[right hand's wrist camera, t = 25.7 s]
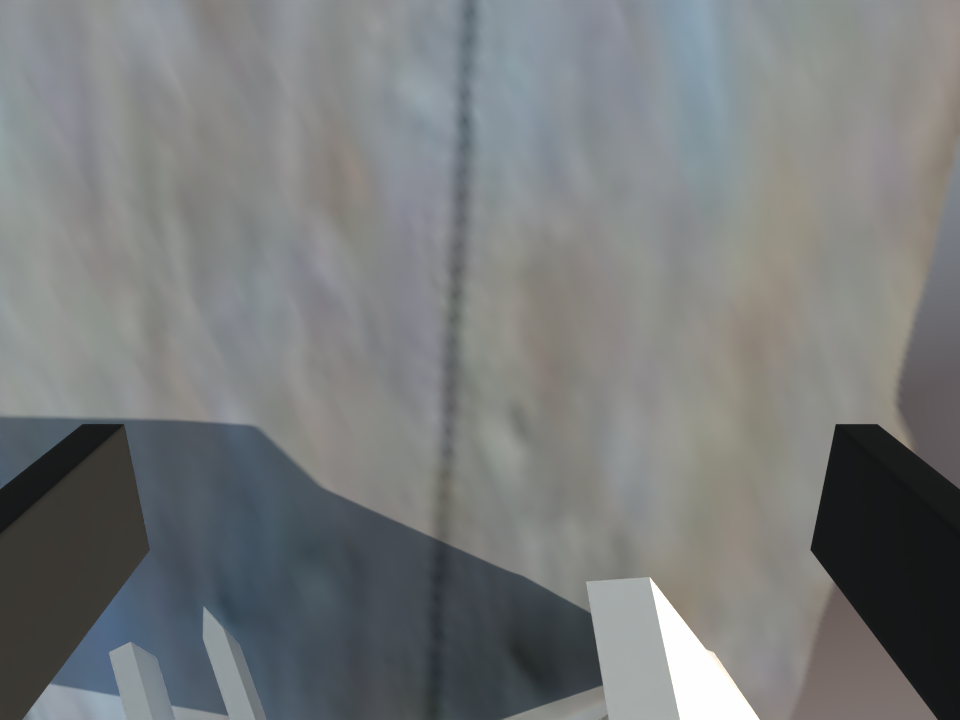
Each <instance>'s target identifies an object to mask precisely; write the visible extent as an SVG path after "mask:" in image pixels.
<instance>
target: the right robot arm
mask: <svg viewBox="0 0 960 720" xmlns="http://www.w3.org/2000/svg"><path fill="white" fill-rule="evenodd" d="M148 551H149V545H148V540H147V535H146V530H145V525H144V520H143V515H142V510H141V505H140V500H139V495H138V490H137V485H136V481H135V476H134V471H133V466H132V461H131V456H130V451H129V446H128V441H127V436H126V431H125V426H124V424H82V425H81V426H80V427H78V428H77V429H76V430H75V431H73V432H72V433H71V434H70V435H68V436H67V437H66V438H65V439H63V440H62V441H61V442H60V443H58V444H57V445H56V446H55V447H53V448H52V449H51V450H49V451H48V452H47V453H46V454H44V455H43V456H42V457H41V458H39V459H38V460H37V461H36V462H34V463H33V464H32V465H31V466H29V467H28V468H27V469H25V470H24V471H23V472H22V473H20V474H19V475H18V476H17V477H15V478H14V479H13V480H12V481H10V482H9V483H8V484H7V485H5V486H4V487H3V488H1V489H0V720H22V719H23V718H24V716H25V715H26V714H27V712H28V711H29V710H30V708H31V707H32V706H33V705H34V703H35V702H36V701H37V699H38V698H39V697H40V695H41V694H42V693H43V691H44V690H45V689H46V687H47V686H48V685H49V683H50V682H51V681H52V679H53V678H54V677H55V675H56V674H57V673H58V671H59V670H60V669H61V667H62V666H63V665H64V663H65V662H66V661H67V659H68V658H69V657H70V655H71V654H72V653H73V651H74V650H75V649H76V647H77V646H78V645H79V643H80V642H81V641H82V639H83V638H84V637H85V635H86V634H87V633H88V631H89V630H90V629H91V627H92V626H93V625H94V623H95V622H96V621H97V619H98V618H99V617H100V615H101V614H102V613H103V611H104V610H105V609H106V607H107V606H108V605H109V603H110V602H111V601H112V599H113V598H114V597H115V595H116V594H117V593H118V591H119V590H120V589H121V587H122V586H123V585H124V583H125V582H126V581H127V579H128V578H129V577H130V575H131V574H132V573H133V571H134V570H135V569H136V567H137V566H138V565H139V563H140V562H141V561H142V559H143V558H144V557H145V555H146V554H147V553H148ZM811 551H812V553H813V554H814V555H815V557H816V558H817V559H818V561H819V562H820V563H821V565H822V566H823V567H824V569H825V570H826V571H827V573H828V574H829V575H830V577H831V578H832V579H833V581H834V582H835V583H836V585H837V586H838V587H839V589H840V590H841V591H842V593H843V594H844V595H845V597H846V598H847V599H848V601H849V602H850V603H851V605H852V606H853V607H854V609H855V610H856V611H857V613H858V614H859V615H860V617H861V618H862V619H863V621H864V622H865V623H866V625H867V626H868V627H869V628H870V630H871V631H872V633H873V634H874V635H875V637H876V638H877V639H878V641H879V642H880V643H881V645H882V646H883V647H884V649H885V650H886V651H887V653H888V654H889V655H890V656H891V658H892V659H893V660H894V662H895V663H896V664H897V666H898V667H899V669H900V670H901V671H902V673H903V674H904V675H905V677H906V678H907V679H908V680H909V682H910V683H911V684H912V686H913V687H914V688H915V690H916V691H917V692H918V694H919V695H920V697H921V698H922V699H923V700H924V702H925V703H926V704H927V706H928V707H929V709H930V710H931V711H932V712H933V714H934V715H935V716H936V718H937V719H938V720H960V489H958V488H957V487H956V486H955V485H953V484H952V483H951V482H950V481H948V480H947V479H946V478H945V477H943V476H942V475H941V474H940V473H938V472H937V471H936V470H935V469H933V468H932V467H931V466H929V465H928V464H927V463H926V462H924V461H923V460H922V459H921V458H919V457H918V456H917V455H916V454H914V453H913V452H912V451H911V450H909V449H908V448H907V447H905V446H904V445H903V444H902V443H900V442H899V441H898V440H897V439H895V438H894V437H893V436H892V435H890V434H889V433H888V432H887V431H885V430H884V429H883V428H882V427H880V426H879V425H878V424H836V426H835V431H834V436H833V441H832V446H831V451H830V456H829V461H828V466H827V471H826V476H825V481H824V485H823V490H822V495H821V500H820V505H819V510H818V515H817V520H816V525H815V530H814V535H813V540H812V545H811Z"/></svg>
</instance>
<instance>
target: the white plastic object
mask: <svg viewBox="0 0 960 720" xmlns="http://www.w3.org/2000/svg"><path fill="white" fill-rule="evenodd" d="M586 584H587V590H588V596H589V602H590V608H591V614H592V620H593V627H594V633H595V639H596V645H597V651H598V657H599V663H600V669H601V675H602V681H603V687H604V693H605V699H606V705H607V711H608V714H607V715H605V716H604V717H602V718H601V719H599V720H759V718H758V717H757V715H756V714H755V712H754V711H753V709H752V708H751V707H750V705H749V704H748V702H747V701H746V699H745V698H744V696H743V695H742V693H741V692H740V690H739V689H738V688H737V686H736V685H735V683H734V682H733V680H732V679H731V677H730V676H729V674H728V673H727V671H726V670H725V668H724V667H723V666H722V664H721V663H720V661H719V660H718V658H717V657H716V655H715V654H714V652H713V651H712V652H710V651H708V650H706V649H705V648H704V647H703V645H702V644H701V643H700V642H699V640H698V639H697V638H696V636H695V635H694V634H693V633H692V631H691V630H690V629H689V627H688V626H687V625H686V623H685V622H684V621H683V620H682V618H681V617H680V616H679V614H678V613H677V612H676V611H675V609H674V608H673V607H672V605H671V604H670V603H669V602H668V600H667V599H666V598H665V596H664V595H663V594H662V592H661V591H660V590H659V589H658V587H657V586H656V585H655V583H654V582H653V581H652V580H651V578H650V577H645V578H631V579H616V580H602V581H587V582H586ZM203 641H204V644H205V647H206V650H207V653H208V656H209V659H210V662H211V665H212V668H213V671H214V673H215V676H216V679H217V682H218V685H219V688H220V691H221V694H222V697H223V700H224V703H225V706H226V709H227V712H228V715H229V718H230V720H267V719H266V716H265V713H264V710H263V708H262V705H261V702H260V699H259V696H258V694H257V691H256V688H255V685H254V683H253V680H252V677H251V674H250V671H249V669H248V666H247V663H246V660H245V658H244V655H243V652H242V649H241V647H240V645H239V643H238V642H237V641H236V640H235V639H234V638H233V637H232V635H231V634H230V633H229V632H228V631H227V630H226V629H225V628H224V626H223V625H222V624H221V623H220V622H219V621H218V620H217V619H216V618H215V617H214V616H213V615H212V614H211V613H210V612H209V611H208V610H207V609H206V608H205V607H203ZM109 656H110V659H111V663H112V667H113V671H114V674H115V678H116V682H117V685H118V689H119V693H120V697H121V700H122V704H123V708H124V712H125V715H126V719H127V720H175V717H174V713H173V710H172V707H171V703H170V700H169V697H168V693H167V690H166V687H165V683H164V680H163V677H162V673H161V670H160V667H159V663H158V660H157V657H155V656H153V655H152V654H150V653H148V652H147V651H145V650H143V649H142V648H140V647H139V646H137V645H135V644H134V643H132V642H129V643H127V644H125V645H123V646H120V647H118V648H116V649H114V650H112V651H110V652H109Z"/></svg>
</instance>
